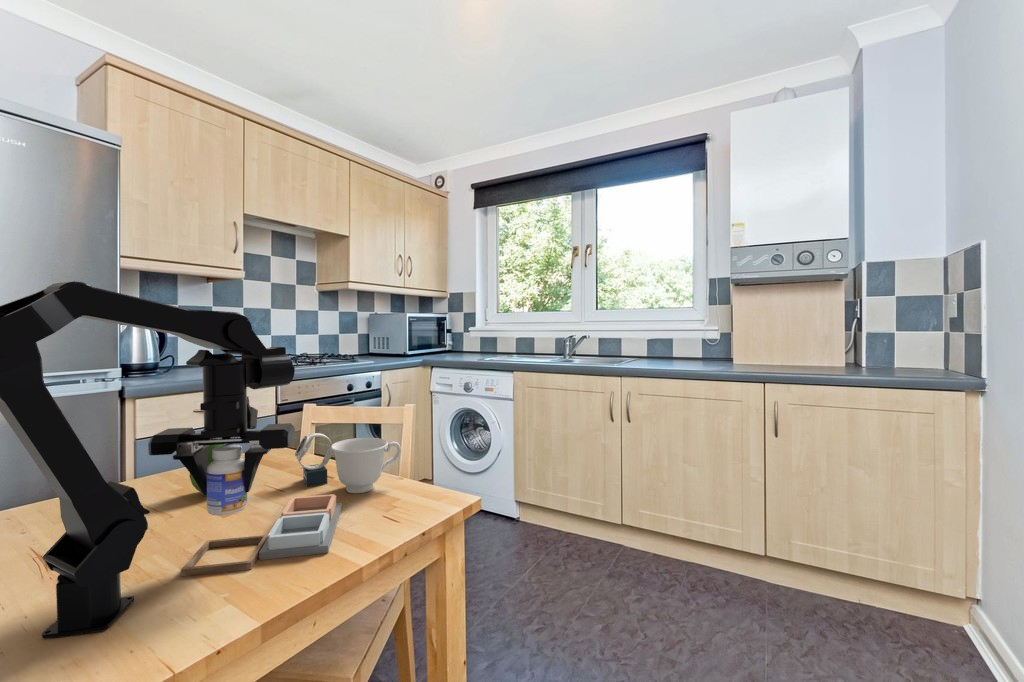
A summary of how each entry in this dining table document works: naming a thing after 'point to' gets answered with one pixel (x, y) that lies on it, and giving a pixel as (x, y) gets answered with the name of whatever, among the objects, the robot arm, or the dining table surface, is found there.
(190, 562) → the tray
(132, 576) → the dining table surface
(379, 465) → the teacup
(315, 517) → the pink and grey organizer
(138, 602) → the dining table surface
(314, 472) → the watch
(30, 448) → the robot arm
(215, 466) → the pill bottle
